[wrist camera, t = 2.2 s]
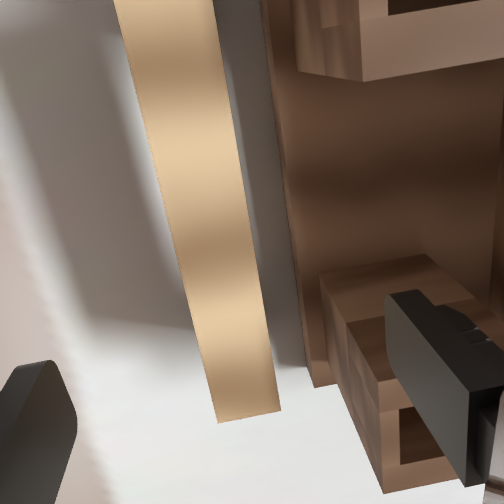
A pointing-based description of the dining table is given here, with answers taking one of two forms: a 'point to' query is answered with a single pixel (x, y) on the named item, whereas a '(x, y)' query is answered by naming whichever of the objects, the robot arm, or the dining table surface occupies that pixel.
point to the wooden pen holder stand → (389, 191)
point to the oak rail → (203, 194)
